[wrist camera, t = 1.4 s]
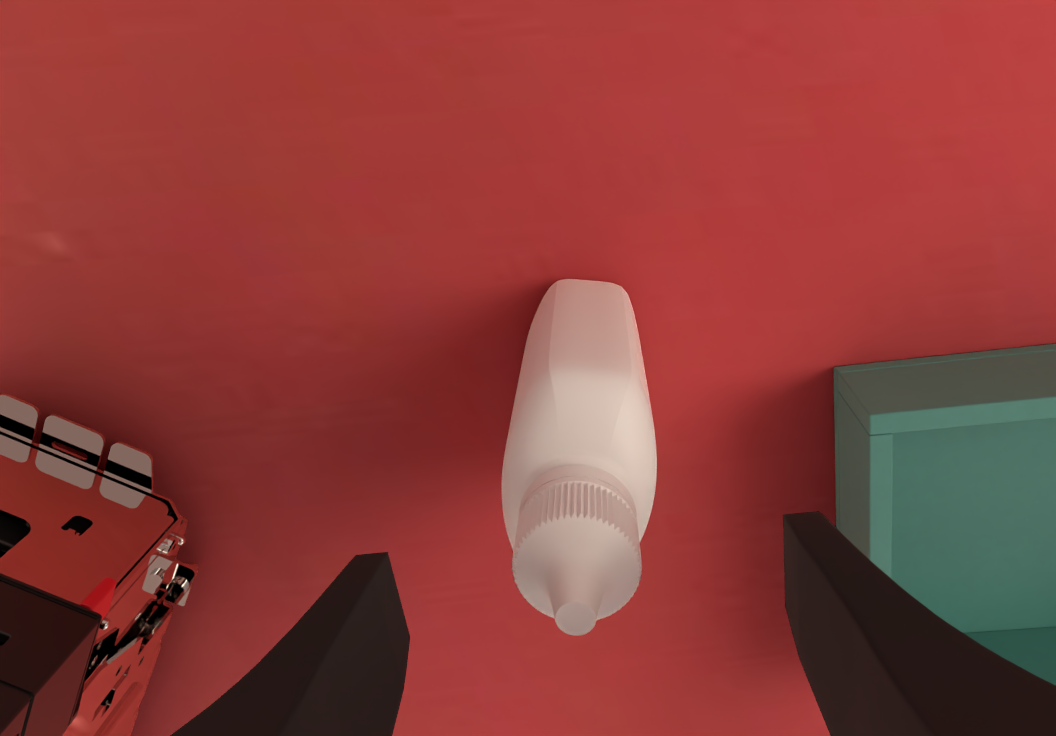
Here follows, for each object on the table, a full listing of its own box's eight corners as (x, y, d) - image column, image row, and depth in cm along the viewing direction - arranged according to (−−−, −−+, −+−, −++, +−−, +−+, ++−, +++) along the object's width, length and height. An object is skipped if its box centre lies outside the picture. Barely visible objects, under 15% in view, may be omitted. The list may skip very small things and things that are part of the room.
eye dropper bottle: (695, 331, 25) (784, 568, 14) (587, 470, 27) (587, 777, 16) (572, 249, 24) (561, 429, 13) (470, 397, 26) (384, 664, 15)
